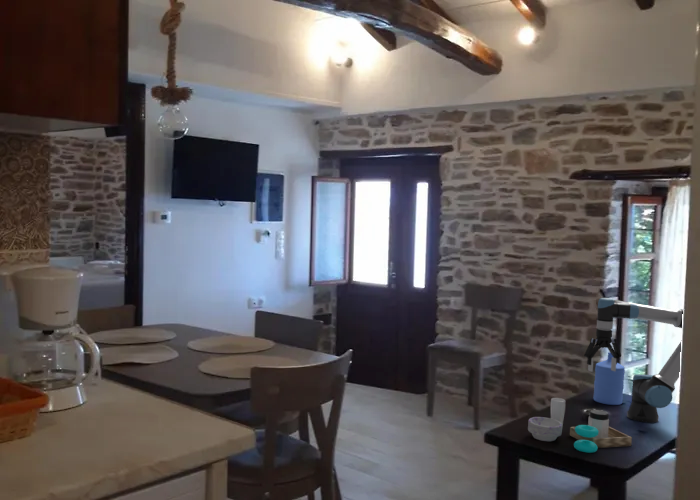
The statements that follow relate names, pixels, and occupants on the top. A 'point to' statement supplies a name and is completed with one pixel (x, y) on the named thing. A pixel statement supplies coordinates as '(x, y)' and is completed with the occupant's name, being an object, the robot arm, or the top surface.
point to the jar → (599, 422)
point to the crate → (613, 438)
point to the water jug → (609, 383)
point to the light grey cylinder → (557, 409)
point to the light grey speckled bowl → (544, 428)
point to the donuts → (586, 444)
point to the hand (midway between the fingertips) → (601, 371)
